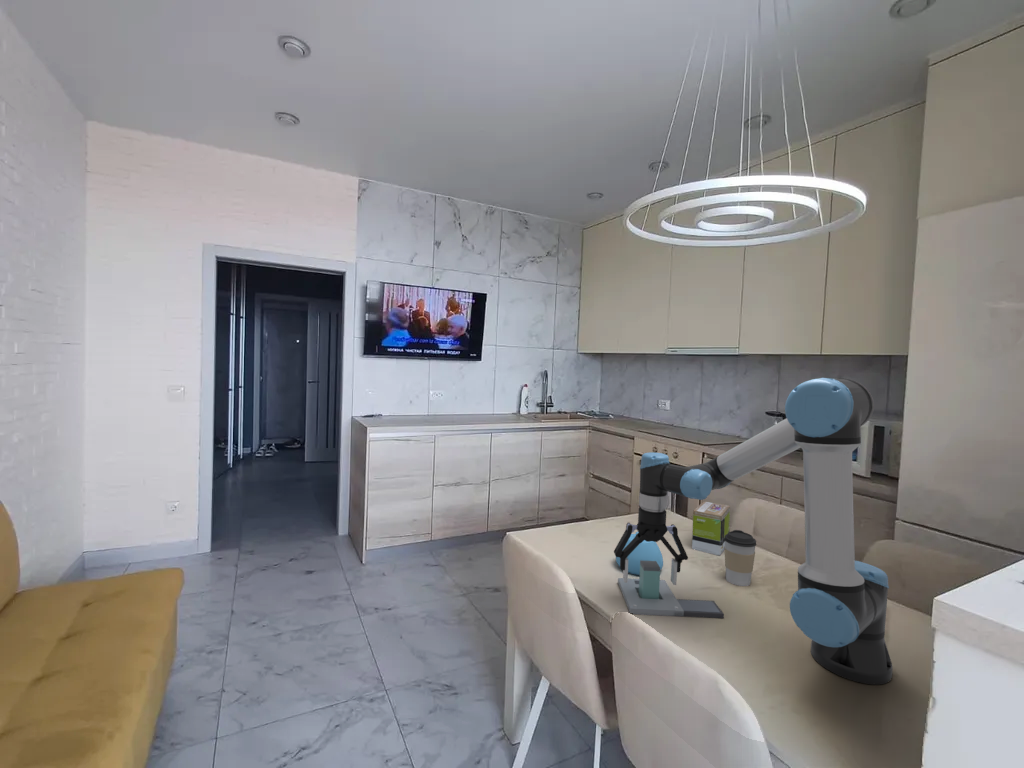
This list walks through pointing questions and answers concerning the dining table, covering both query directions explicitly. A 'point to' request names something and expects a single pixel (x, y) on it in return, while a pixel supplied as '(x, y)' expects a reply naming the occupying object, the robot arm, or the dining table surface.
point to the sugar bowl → (642, 555)
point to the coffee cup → (739, 557)
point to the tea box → (710, 527)
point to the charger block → (649, 580)
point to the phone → (700, 608)
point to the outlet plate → (650, 600)
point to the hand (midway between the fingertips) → (649, 581)
